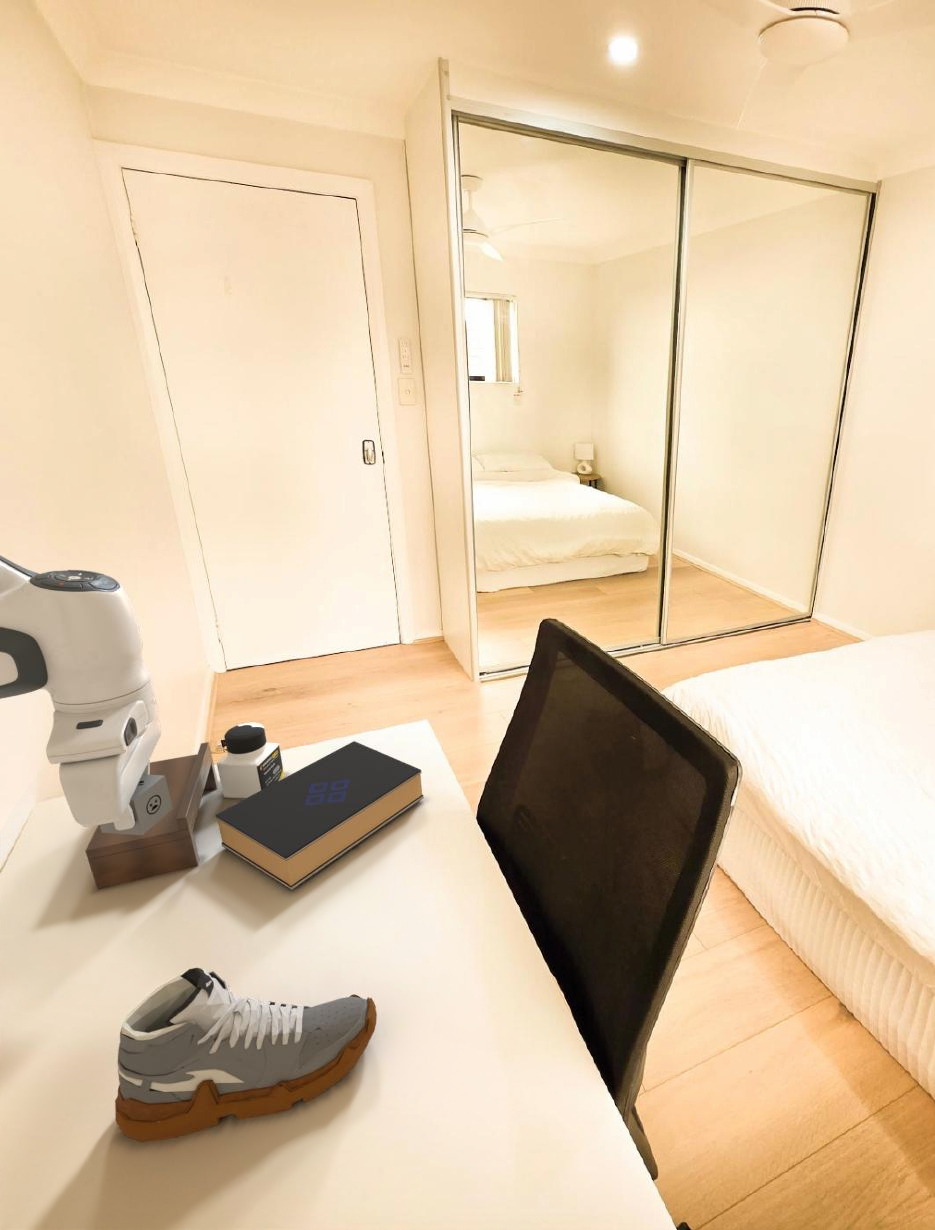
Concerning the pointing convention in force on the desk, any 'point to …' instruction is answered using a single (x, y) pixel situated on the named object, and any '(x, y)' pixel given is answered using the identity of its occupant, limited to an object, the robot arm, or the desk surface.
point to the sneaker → (228, 1055)
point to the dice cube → (146, 805)
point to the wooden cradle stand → (158, 827)
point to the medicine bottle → (249, 761)
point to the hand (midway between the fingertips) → (134, 808)
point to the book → (319, 812)
